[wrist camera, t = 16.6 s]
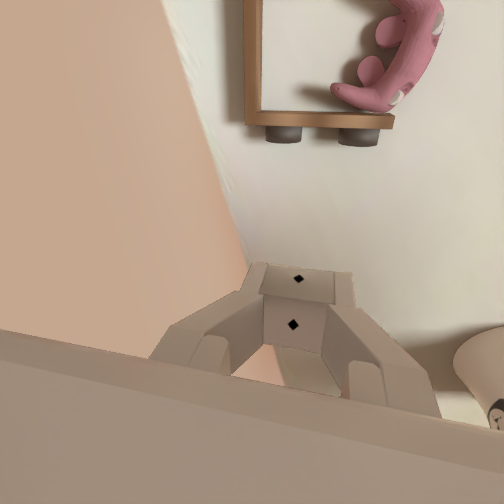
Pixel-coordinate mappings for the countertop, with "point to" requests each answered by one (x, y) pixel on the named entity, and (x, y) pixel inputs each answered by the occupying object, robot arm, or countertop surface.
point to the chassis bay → (291, 122)
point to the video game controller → (396, 56)
